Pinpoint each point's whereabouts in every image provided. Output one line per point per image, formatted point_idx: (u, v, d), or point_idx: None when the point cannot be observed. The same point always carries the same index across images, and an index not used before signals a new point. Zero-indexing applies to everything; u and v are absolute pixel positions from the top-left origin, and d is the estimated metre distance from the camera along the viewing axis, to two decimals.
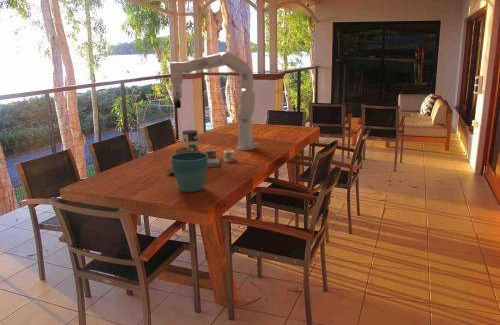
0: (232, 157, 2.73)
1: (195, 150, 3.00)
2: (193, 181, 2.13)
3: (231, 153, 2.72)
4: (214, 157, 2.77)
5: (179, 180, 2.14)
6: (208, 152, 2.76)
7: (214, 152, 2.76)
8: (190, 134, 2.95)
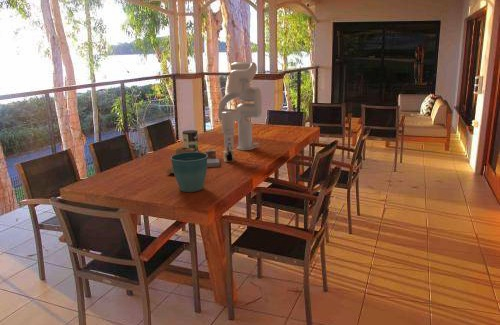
0: (232, 157, 2.73)
1: (195, 150, 3.00)
2: (193, 181, 2.13)
3: None
4: (214, 157, 2.77)
5: (179, 180, 2.14)
6: (208, 152, 2.76)
7: (214, 152, 2.76)
8: (190, 134, 2.95)
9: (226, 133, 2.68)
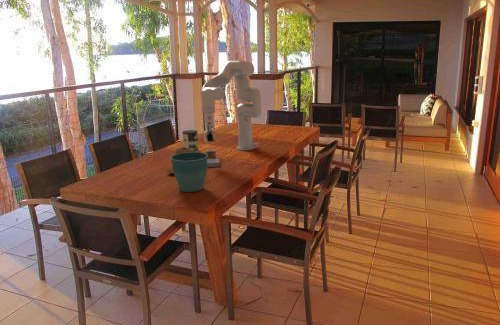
0: (213, 137, 2.60)
1: (195, 150, 3.00)
2: (193, 181, 2.13)
3: (212, 133, 2.59)
4: (214, 157, 2.77)
5: (179, 180, 2.14)
6: (208, 152, 2.76)
7: (214, 152, 2.76)
8: (190, 134, 2.95)
9: (206, 112, 2.55)
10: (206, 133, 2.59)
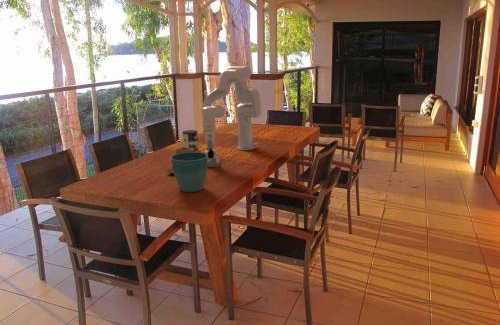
0: (214, 157, 2.63)
1: (195, 150, 3.00)
2: (193, 181, 2.13)
3: None
4: None
5: (179, 180, 2.14)
6: None
7: None
8: (190, 134, 2.95)
9: (207, 130, 2.58)
10: (207, 153, 2.62)
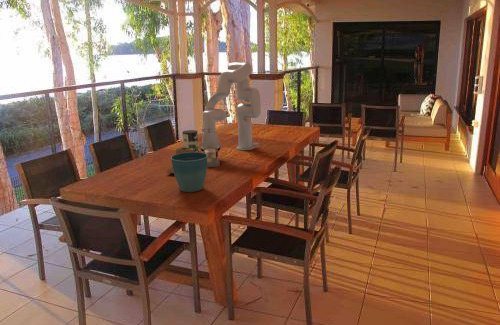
0: (214, 157, 2.63)
1: (195, 150, 3.00)
2: (193, 181, 2.13)
3: (212, 153, 2.62)
4: None
5: (179, 180, 2.14)
6: None
7: None
8: (190, 134, 2.95)
9: None
10: (207, 153, 2.62)
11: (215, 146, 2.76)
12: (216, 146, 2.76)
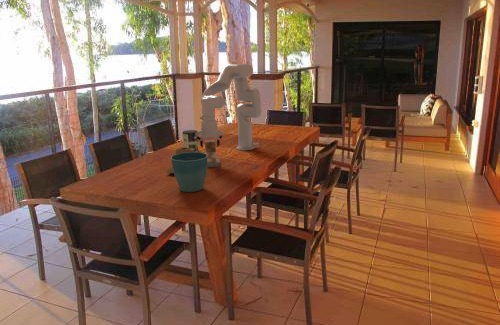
0: (214, 157, 2.63)
1: (195, 150, 3.00)
2: (193, 181, 2.13)
3: (212, 153, 2.62)
4: (214, 148, 2.62)
5: (179, 180, 2.14)
6: (207, 143, 2.60)
7: (214, 143, 2.61)
8: (190, 134, 2.95)
9: None
10: (207, 153, 2.62)
11: (214, 135, 2.60)
12: (216, 135, 2.60)
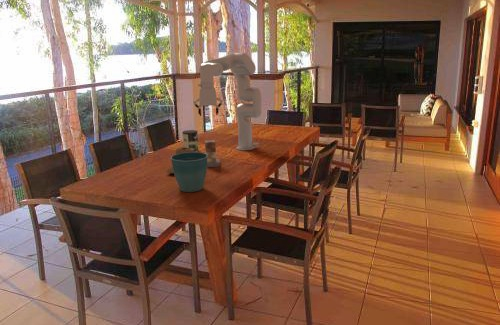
0: (214, 157, 2.63)
1: (195, 150, 3.00)
2: (193, 181, 2.13)
3: (212, 153, 2.62)
4: (214, 148, 2.62)
5: (179, 180, 2.14)
6: (207, 143, 2.60)
7: (214, 143, 2.61)
8: (190, 134, 2.95)
9: None
10: (207, 153, 2.62)
11: (213, 103, 2.55)
12: (214, 103, 2.55)
